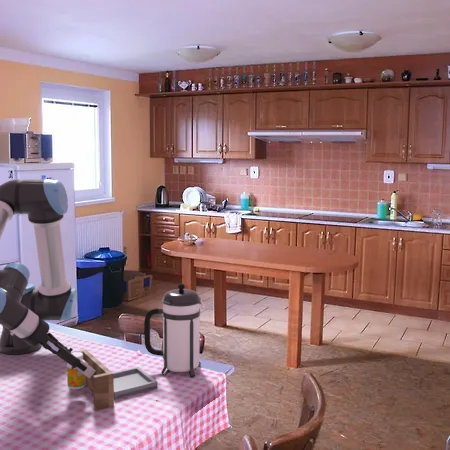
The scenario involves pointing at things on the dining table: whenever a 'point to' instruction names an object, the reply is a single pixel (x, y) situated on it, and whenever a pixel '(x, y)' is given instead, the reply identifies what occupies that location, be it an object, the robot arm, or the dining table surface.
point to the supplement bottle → (75, 374)
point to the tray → (132, 382)
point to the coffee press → (178, 330)
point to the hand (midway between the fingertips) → (88, 370)
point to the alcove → (100, 382)
